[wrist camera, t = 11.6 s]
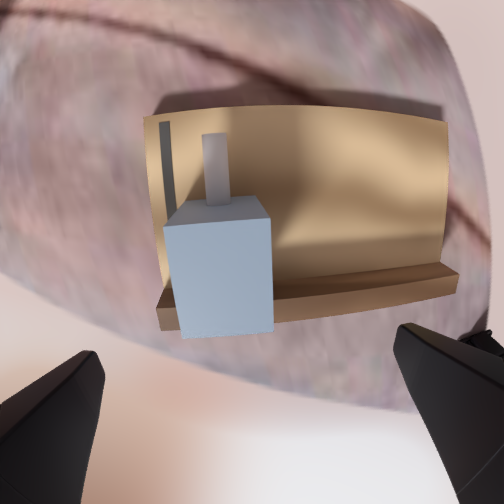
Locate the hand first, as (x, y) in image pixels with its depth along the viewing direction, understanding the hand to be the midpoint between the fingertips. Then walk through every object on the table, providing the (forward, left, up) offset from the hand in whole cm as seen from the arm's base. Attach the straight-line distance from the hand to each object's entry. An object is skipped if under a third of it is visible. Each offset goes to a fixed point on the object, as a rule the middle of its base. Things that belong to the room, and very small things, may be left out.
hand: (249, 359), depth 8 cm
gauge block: (+2, +1, -10) cm, 11 cm away
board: (+2, -5, -12) cm, 13 cm away
